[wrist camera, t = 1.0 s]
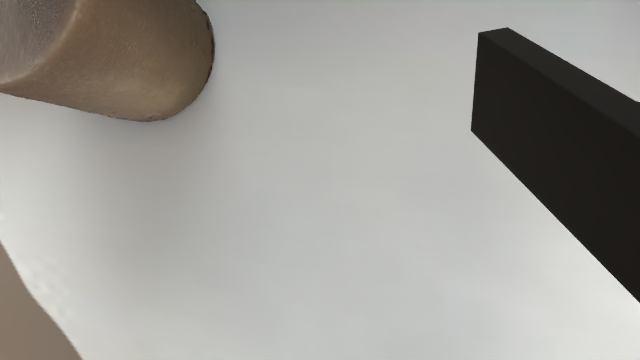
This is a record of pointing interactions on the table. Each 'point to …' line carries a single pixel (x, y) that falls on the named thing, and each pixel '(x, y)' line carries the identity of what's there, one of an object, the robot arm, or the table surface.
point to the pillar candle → (106, 54)
